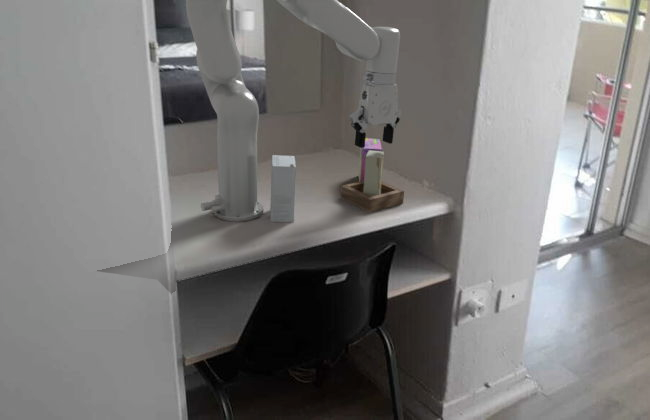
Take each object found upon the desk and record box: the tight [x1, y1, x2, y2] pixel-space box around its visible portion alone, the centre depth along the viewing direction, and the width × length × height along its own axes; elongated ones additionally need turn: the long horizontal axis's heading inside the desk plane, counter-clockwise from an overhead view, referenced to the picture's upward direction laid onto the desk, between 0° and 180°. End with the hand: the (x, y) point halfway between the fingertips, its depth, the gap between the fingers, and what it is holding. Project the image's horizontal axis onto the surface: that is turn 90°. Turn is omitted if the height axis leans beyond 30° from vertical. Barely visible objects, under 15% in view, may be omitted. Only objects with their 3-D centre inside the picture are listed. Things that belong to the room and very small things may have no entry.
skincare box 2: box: [363, 150, 385, 197], centre depth 160 cm, size 6×4×12 cm
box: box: [357, 137, 383, 182], centre depth 174 cm, size 10×6×12 cm, turn 179°
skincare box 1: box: [269, 154, 297, 223], centre depth 148 cm, size 8×6×15 cm
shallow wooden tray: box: [340, 181, 405, 213], centre depth 162 cm, size 12×12×4 cm
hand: (373, 144), depth 157 cm, fingers open, 9 cm apart
